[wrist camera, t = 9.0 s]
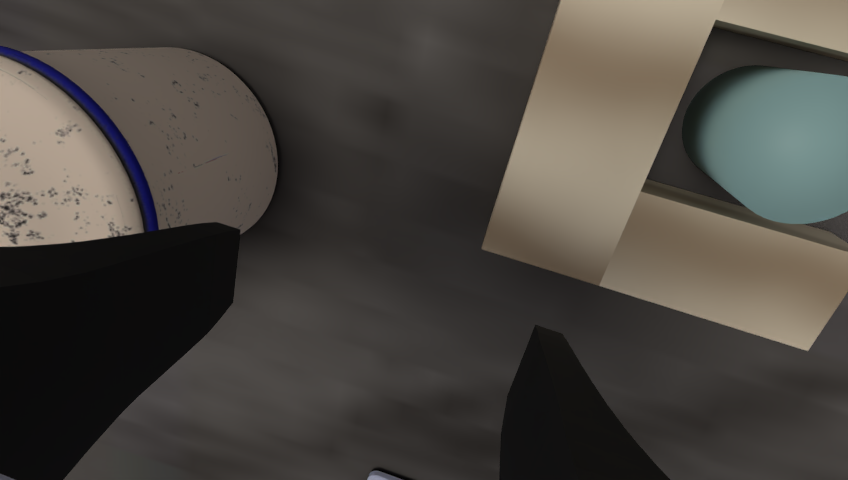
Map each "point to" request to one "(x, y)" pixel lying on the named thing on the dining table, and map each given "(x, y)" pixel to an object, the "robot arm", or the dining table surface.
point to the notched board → (633, 157)
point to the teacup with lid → (127, 145)
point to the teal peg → (774, 140)
